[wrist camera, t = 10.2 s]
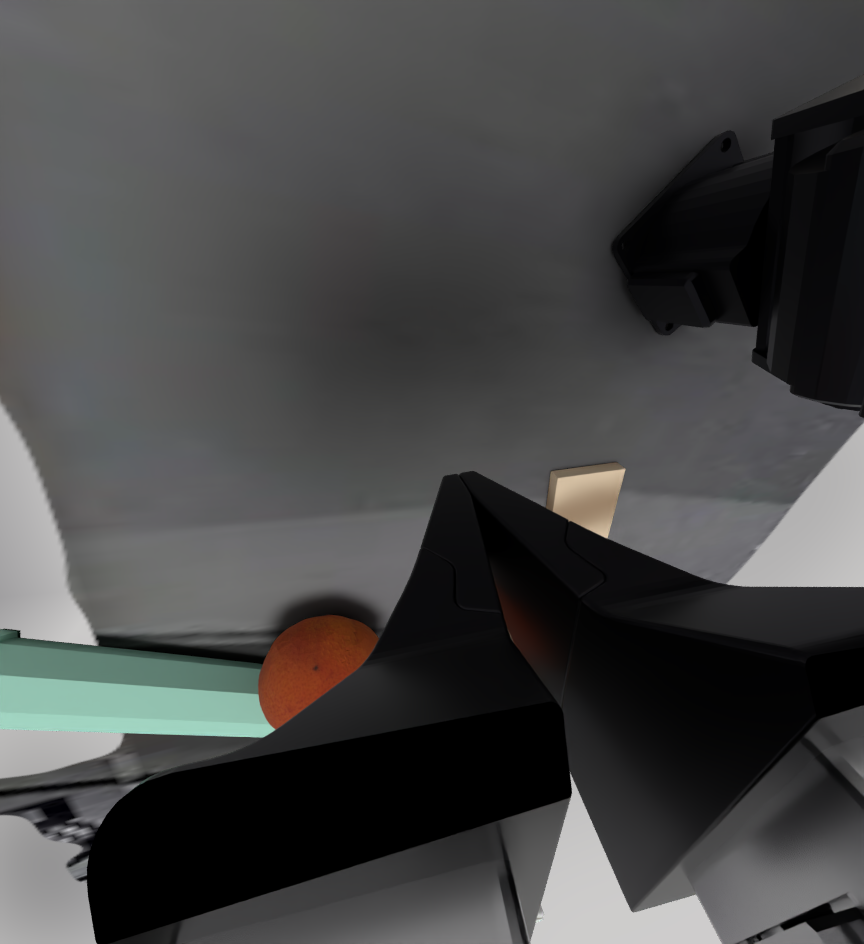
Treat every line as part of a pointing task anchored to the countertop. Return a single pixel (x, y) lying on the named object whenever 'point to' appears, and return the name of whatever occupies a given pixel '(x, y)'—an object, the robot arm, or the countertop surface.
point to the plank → (586, 495)
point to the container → (125, 690)
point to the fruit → (310, 663)
